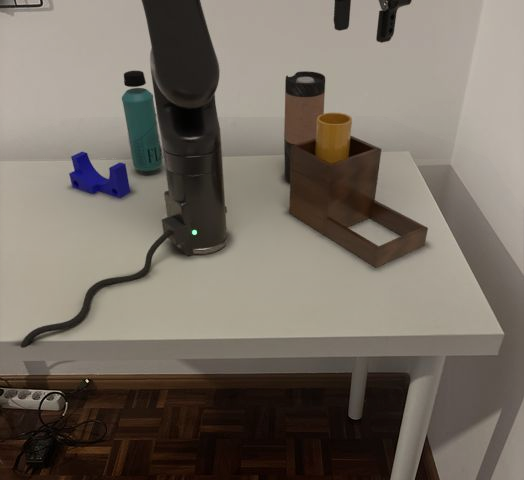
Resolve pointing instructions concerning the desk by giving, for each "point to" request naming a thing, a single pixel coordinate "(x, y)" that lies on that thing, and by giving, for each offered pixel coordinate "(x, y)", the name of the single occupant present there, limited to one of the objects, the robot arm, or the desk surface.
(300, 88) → the travel mug
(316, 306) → the desk surface
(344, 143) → the cup
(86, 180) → the blue curved bracket
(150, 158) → the beverage bottle
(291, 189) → the organizer
